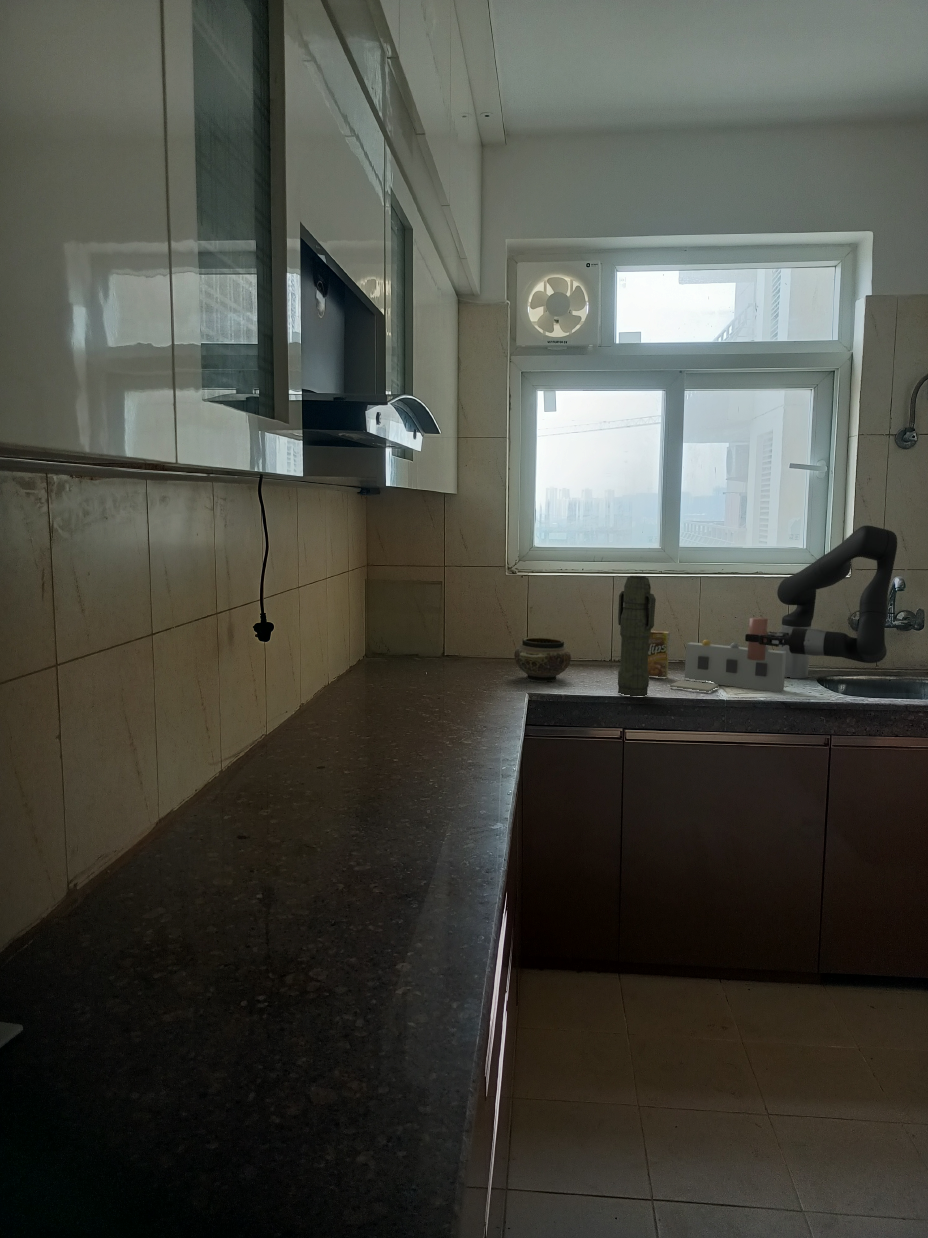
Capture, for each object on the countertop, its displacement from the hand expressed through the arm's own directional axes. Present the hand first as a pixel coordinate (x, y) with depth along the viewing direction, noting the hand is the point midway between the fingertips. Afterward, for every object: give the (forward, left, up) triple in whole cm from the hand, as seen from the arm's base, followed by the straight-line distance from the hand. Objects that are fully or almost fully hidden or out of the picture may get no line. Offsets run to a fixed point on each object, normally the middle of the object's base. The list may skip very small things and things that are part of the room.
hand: (748, 636), depth 256 cm
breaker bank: (-13, -7, -18) cm, 23 cm away
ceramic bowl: (+17, -59, -18) cm, 64 cm away
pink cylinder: (0, +3, -7) cm, 7 cm away
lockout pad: (0, -15, -18) cm, 23 cm away
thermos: (+20, -27, -18) cm, 38 cm away
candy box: (-10, -32, -18) cm, 38 cm away
